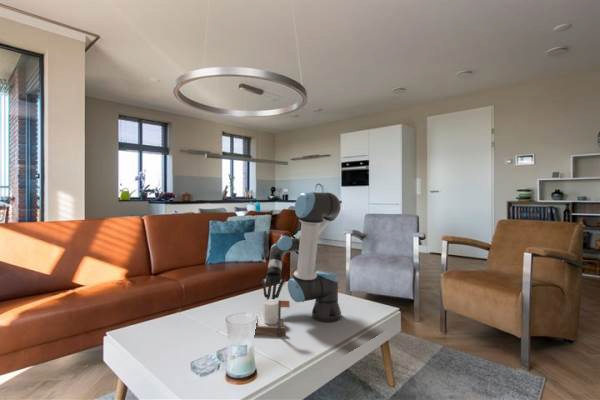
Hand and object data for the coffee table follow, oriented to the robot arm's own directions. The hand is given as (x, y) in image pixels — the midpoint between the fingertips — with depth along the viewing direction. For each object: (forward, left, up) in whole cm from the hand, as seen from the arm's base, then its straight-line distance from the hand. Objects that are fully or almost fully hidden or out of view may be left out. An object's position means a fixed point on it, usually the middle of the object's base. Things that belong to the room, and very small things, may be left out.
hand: (269, 309), depth 163 cm
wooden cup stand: (-7, +13, -4) cm, 16 cm away
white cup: (-3, +4, -4) cm, 6 cm away
